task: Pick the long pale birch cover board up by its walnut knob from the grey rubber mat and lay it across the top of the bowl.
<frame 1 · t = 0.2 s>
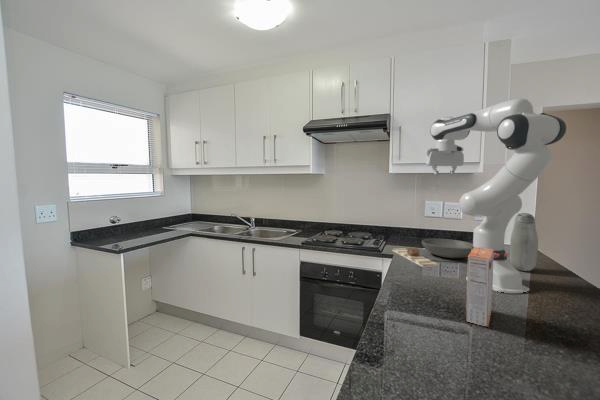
hand: (444, 174, 146), 47 cm above the worktop, tool pointing down, fingers open, 8 cm apart
bowl: (447, 257, 156), on the worktop
cover board: (413, 252, 153), on the mat
mat: (412, 257, 154), on the worktop
grey green vase: (522, 270, 132), on the worktop
cracker box: (478, 317, 85), on the worktop
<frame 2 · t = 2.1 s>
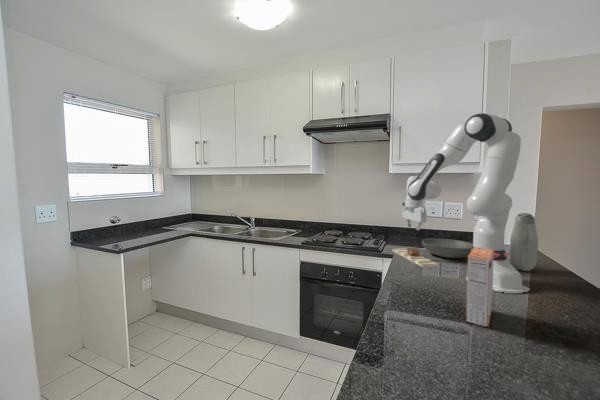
hand: (413, 228, 153), 17 cm above the worktop, tool pointing down, fingers open, 8 cm apart
nothing on the worktop moved.
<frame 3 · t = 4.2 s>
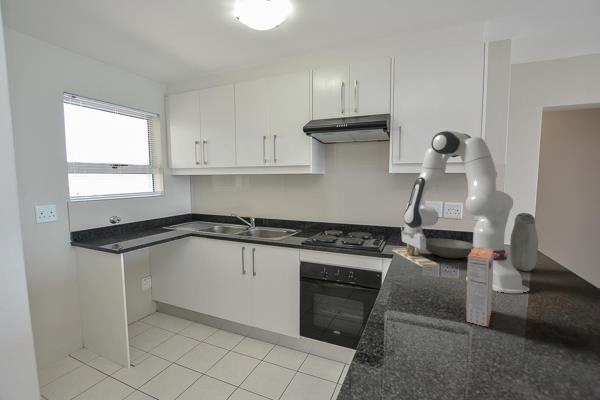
hand: (413, 253, 153), 3 cm above the worktop, tool pointing down, fingers closed on cover board, 4 cm apart
cover board: (413, 252, 153), on the mat, touching gripper
everything else where it was.
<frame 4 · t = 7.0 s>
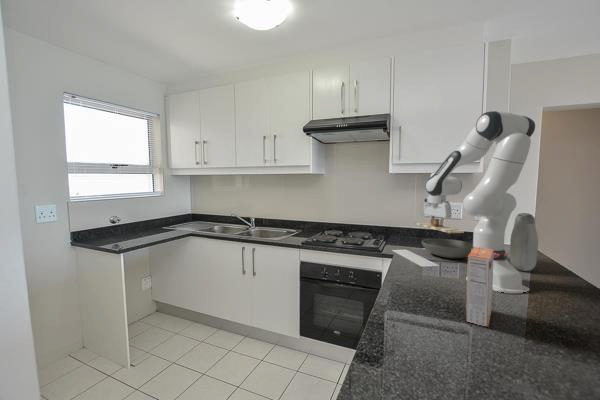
hand: (436, 224, 154), 19 cm above the worktop, tool pointing down, fingers closed on cover board, 4 cm apart
cover board: (436, 223, 154), point 19 cm above the worktop, touching gripper
everything else where it was.
when the fingers open (12 cm above the worktop, at t = 9.7 s): cover board drops 1 cm, resting on bowl.
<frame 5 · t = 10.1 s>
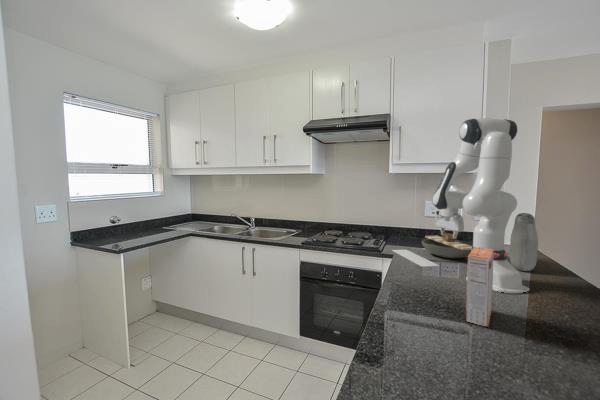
hand: (448, 236, 155), 12 cm above the worktop, tool pointing down, fingers open, 8 cm apart
bowl: (447, 257, 156), on the worktop, touching cover board
cover board: (448, 238, 155), point 10 cm above the worktop, touching bowl
everything else where it was.
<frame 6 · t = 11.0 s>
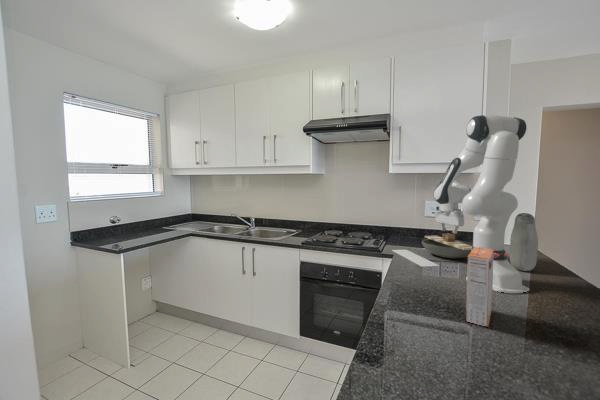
hand: (448, 232, 155), 14 cm above the worktop, tool pointing down, fingers open, 8 cm apart
nothing on the worktop moved.
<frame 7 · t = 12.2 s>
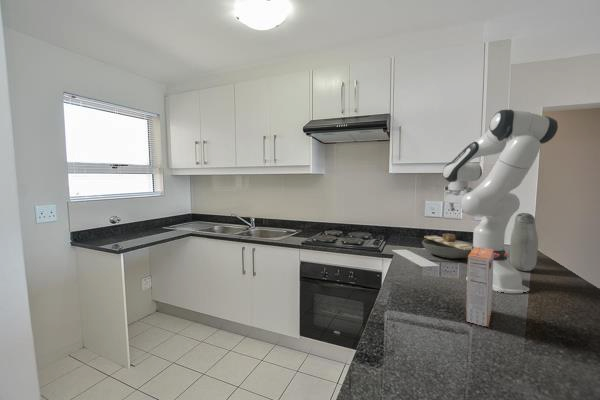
hand: (458, 211, 153), 26 cm above the worktop, tool pointing down, fingers open, 8 cm apart
nothing on the worktop moved.
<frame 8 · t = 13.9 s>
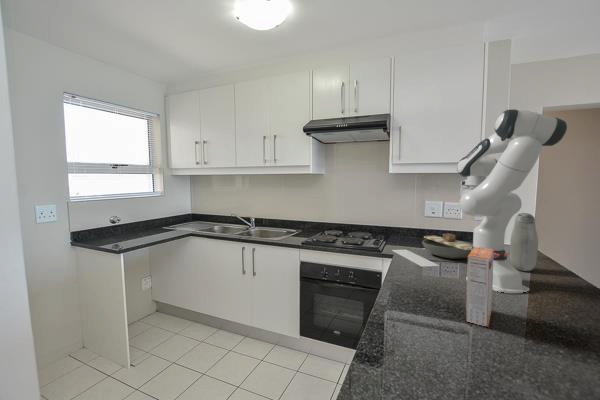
hand: (475, 207, 151), 29 cm above the worktop, tool pointing down, fingers open, 8 cm apart
nothing on the worktop moved.
at the end: cover board 0.1 cm from the bowl (horizontally); cover board point 10.5 cm above the worktop; the gripper is holding nothing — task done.
